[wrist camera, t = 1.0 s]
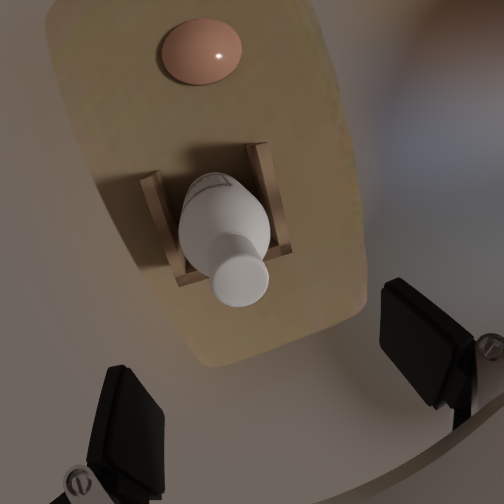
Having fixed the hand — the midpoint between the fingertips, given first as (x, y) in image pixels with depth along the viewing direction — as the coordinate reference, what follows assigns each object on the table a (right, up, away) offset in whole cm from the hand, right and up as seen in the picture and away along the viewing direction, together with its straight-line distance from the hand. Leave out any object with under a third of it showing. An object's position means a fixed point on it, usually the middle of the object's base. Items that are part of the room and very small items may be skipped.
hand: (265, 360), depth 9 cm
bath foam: (-5, +10, +23) cm, 25 cm away
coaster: (-6, +26, +16) cm, 31 cm away
